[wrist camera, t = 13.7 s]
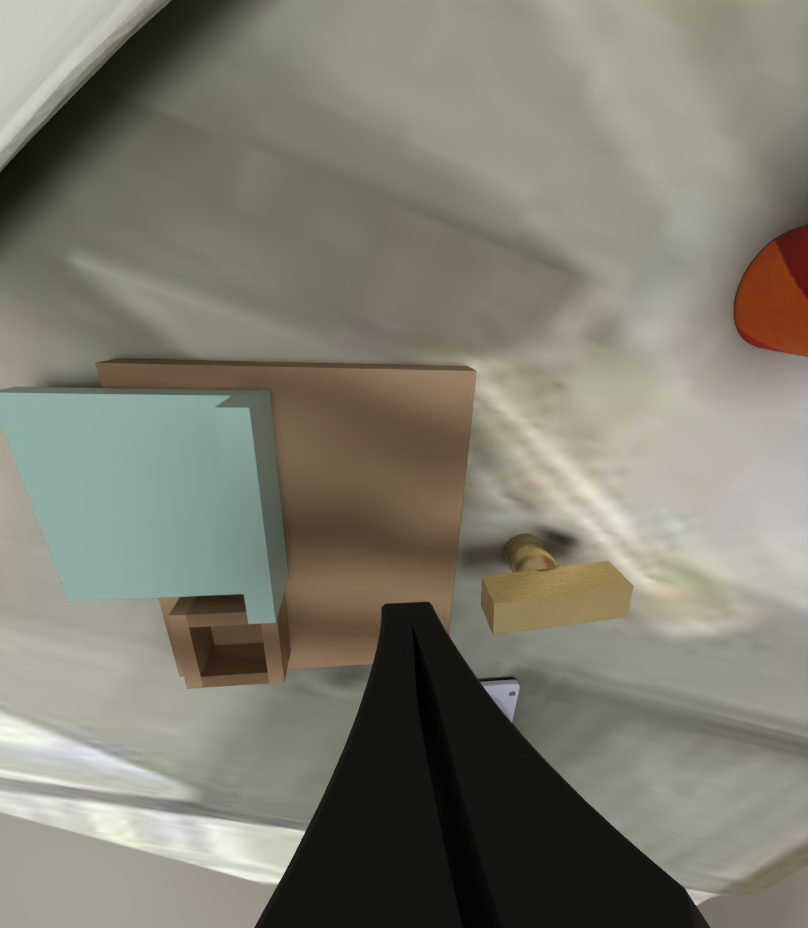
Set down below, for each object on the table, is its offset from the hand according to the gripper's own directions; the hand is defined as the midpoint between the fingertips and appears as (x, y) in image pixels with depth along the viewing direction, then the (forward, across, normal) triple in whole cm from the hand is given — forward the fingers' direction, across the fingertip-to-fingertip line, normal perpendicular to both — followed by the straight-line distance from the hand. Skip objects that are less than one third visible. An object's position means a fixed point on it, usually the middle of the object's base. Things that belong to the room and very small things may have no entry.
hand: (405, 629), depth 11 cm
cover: (+9, +10, 0) cm, 13 cm away
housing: (+10, +4, +3) cm, 12 cm away
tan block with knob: (+10, -9, +5) cm, 14 cm away
